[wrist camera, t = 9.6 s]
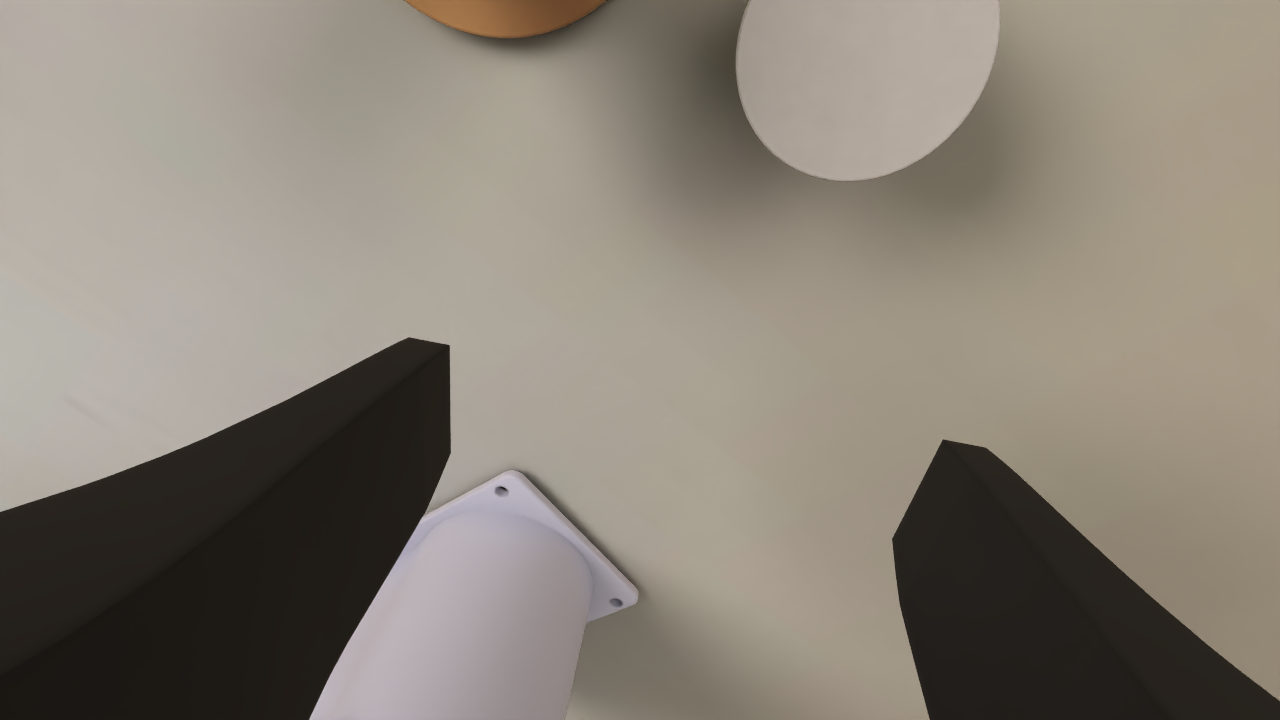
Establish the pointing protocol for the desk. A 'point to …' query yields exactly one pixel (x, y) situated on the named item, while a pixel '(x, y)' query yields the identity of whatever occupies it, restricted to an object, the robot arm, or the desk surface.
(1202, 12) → the desk surface
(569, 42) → the desk surface
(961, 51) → the cylinder
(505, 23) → the coaster
